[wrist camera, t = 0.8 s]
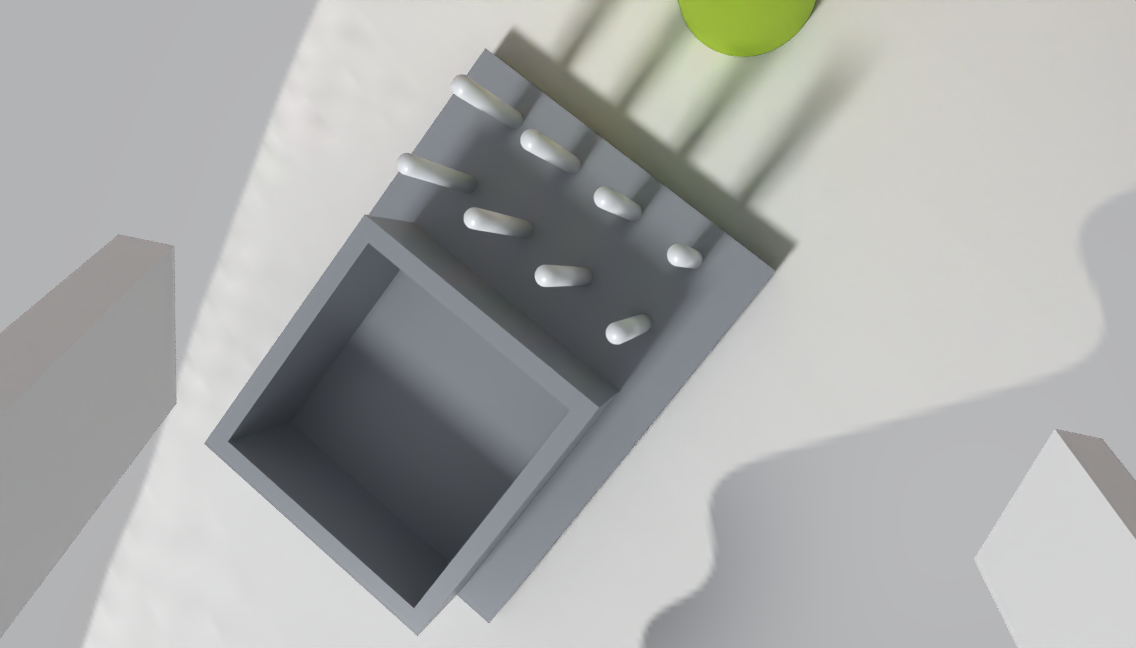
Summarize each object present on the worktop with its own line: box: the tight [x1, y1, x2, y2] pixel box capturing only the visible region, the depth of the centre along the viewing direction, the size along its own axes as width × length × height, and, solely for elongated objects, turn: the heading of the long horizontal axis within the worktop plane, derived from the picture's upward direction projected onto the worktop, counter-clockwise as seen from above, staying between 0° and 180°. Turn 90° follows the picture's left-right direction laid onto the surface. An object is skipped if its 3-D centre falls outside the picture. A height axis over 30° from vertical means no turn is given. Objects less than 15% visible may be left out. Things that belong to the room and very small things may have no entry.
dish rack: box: [204, 48, 775, 636], centre depth 36 cm, size 20×16×8 cm
